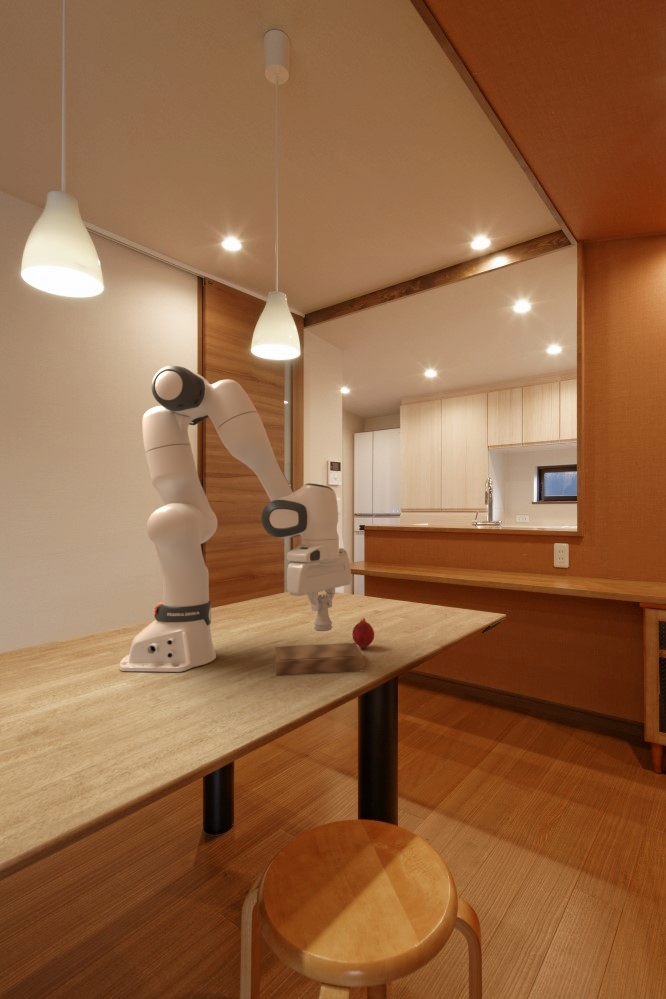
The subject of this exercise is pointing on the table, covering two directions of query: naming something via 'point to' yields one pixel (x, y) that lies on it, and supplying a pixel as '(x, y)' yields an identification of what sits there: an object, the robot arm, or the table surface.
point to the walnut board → (318, 659)
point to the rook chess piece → (323, 615)
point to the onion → (363, 634)
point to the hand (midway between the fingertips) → (322, 609)
